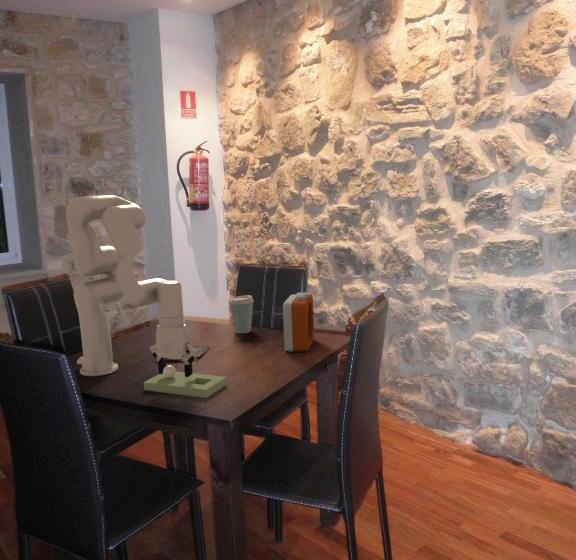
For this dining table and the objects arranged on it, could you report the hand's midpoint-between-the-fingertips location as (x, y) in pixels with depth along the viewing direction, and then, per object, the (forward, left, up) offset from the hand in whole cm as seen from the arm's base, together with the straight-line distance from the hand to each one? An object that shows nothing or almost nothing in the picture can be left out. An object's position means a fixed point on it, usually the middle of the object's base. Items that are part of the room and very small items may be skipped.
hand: (175, 374), depth 183 cm
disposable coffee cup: (-12, +67, -4) cm, 68 cm away
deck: (+3, 0, -4) cm, 5 cm away
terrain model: (-18, +31, -5) cm, 36 cm away
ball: (-2, 0, +1) cm, 2 cm away
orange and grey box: (+20, +53, -4) cm, 57 cm away
